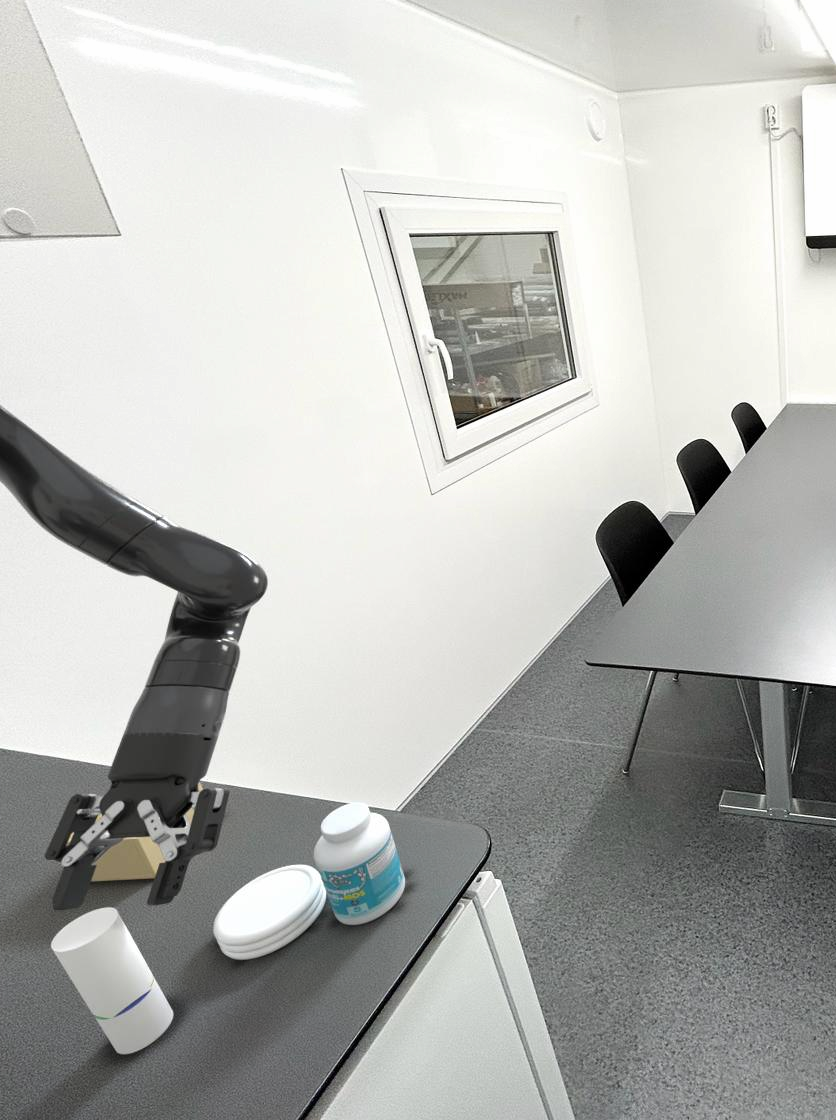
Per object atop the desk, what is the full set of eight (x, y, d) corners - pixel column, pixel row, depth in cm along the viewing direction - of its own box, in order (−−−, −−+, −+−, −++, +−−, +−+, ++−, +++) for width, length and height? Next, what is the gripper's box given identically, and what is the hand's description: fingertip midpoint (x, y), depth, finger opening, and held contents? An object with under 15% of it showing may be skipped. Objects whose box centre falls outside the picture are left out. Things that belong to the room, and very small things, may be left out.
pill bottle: (320, 920, 75) (287, 836, 70) (373, 868, 81) (347, 788, 77) (371, 935, 73) (341, 850, 68) (421, 880, 80) (397, 799, 75)
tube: (130, 1016, 65) (70, 915, 59) (182, 1001, 66) (128, 901, 61) (104, 1061, 61) (38, 958, 56) (160, 1044, 63) (100, 942, 57)
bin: (79, 882, 79) (56, 842, 77) (146, 822, 88) (128, 785, 86) (157, 878, 80) (137, 838, 77) (216, 819, 89) (200, 782, 86)
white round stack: (251, 977, 69) (241, 956, 67) (203, 939, 72) (193, 918, 71) (345, 901, 77) (338, 880, 76) (298, 871, 81) (290, 851, 80)
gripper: (67, 732, 63) (-9, 918, 57) (214, 726, 64) (156, 909, 58) (135, 738, 70) (74, 905, 64) (267, 733, 71) (220, 897, 65)
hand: (113, 906), depth 61 cm, fingers open, 8 cm apart
